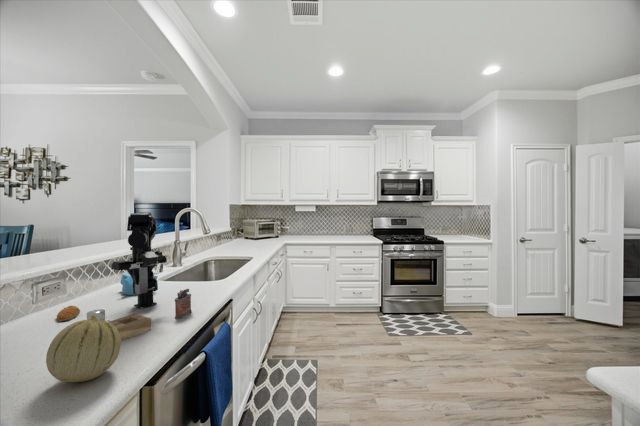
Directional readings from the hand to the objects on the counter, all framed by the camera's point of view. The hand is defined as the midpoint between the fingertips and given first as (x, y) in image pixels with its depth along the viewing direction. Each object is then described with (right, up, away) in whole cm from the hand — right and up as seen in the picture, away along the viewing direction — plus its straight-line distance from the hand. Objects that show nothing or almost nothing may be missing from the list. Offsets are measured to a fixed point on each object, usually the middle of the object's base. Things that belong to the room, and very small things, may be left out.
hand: (141, 283), depth 117 cm
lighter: (+17, -13, 0) cm, 21 cm away
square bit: (0, -4, 0) cm, 4 cm away
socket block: (+5, -13, -15) cm, 21 cm away
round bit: (-9, -13, -12) cm, 20 cm away
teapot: (-22, -13, +34) cm, 42 cm away
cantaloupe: (+12, -14, -43) cm, 46 cm away
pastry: (-28, -14, -1) cm, 31 cm away
